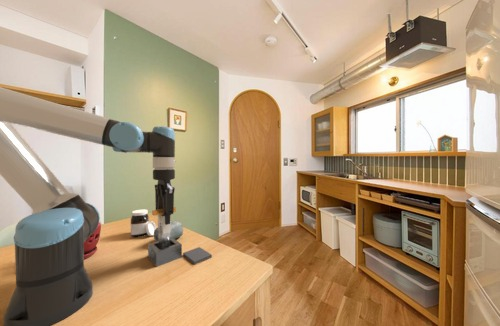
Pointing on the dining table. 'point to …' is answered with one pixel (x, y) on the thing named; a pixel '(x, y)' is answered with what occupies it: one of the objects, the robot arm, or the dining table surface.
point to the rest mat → (197, 255)
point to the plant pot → (92, 242)
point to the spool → (175, 231)
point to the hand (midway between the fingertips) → (164, 230)
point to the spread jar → (141, 224)
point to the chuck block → (164, 252)
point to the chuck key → (163, 238)
